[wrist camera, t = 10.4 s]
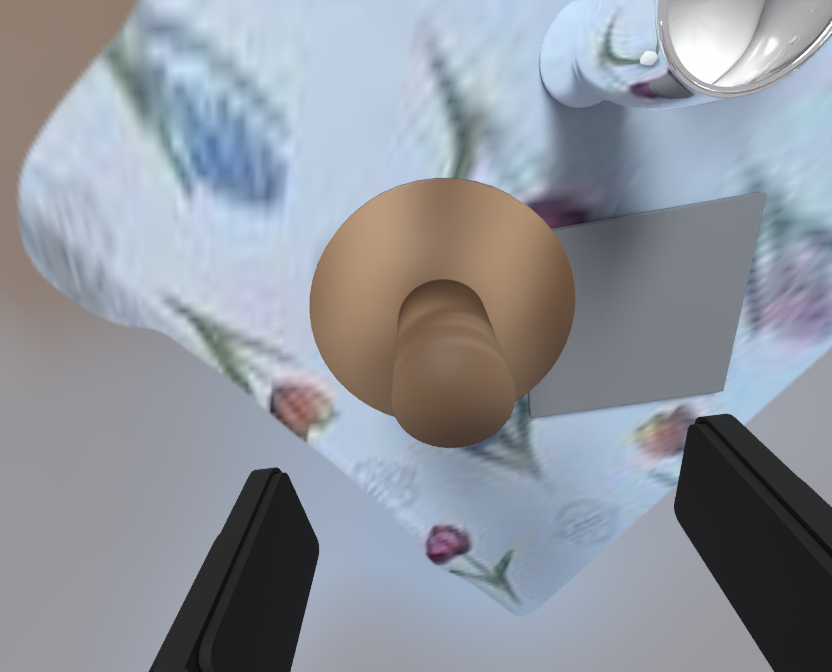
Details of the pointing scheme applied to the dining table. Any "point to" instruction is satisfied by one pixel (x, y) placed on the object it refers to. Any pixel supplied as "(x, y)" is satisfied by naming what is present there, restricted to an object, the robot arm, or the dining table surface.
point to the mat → (652, 305)
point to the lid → (443, 306)
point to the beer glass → (677, 49)
